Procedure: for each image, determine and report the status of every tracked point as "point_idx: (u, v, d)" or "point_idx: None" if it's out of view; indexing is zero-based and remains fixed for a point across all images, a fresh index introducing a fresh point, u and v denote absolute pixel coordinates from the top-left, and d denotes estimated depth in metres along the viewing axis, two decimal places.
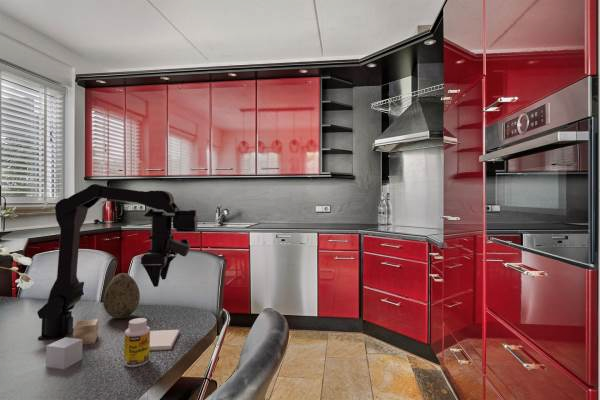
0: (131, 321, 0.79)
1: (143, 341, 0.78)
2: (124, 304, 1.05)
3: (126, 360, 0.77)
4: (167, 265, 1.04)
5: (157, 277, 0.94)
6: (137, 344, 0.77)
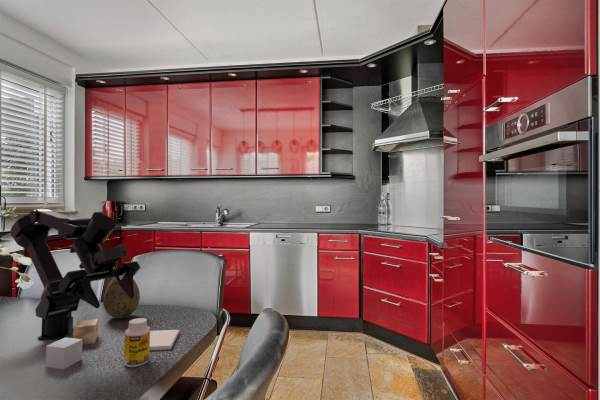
0: (131, 321, 0.79)
1: (143, 341, 0.78)
2: (124, 304, 1.05)
3: (126, 360, 0.77)
4: (128, 282, 0.88)
5: (90, 297, 0.79)
6: (138, 344, 0.77)
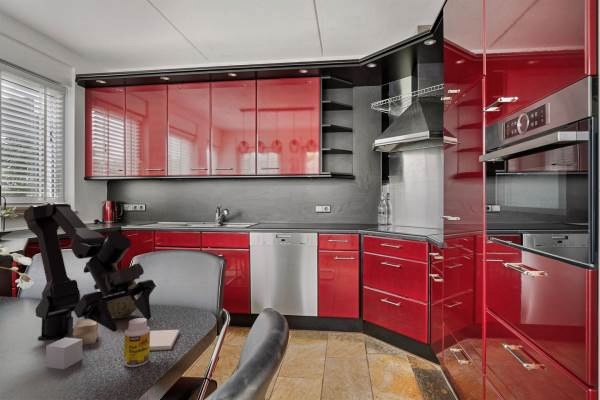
0: (131, 321, 0.79)
1: (143, 341, 0.78)
2: (124, 304, 1.05)
3: (126, 360, 0.77)
4: (144, 302, 0.85)
5: (107, 320, 0.76)
6: (137, 344, 0.77)
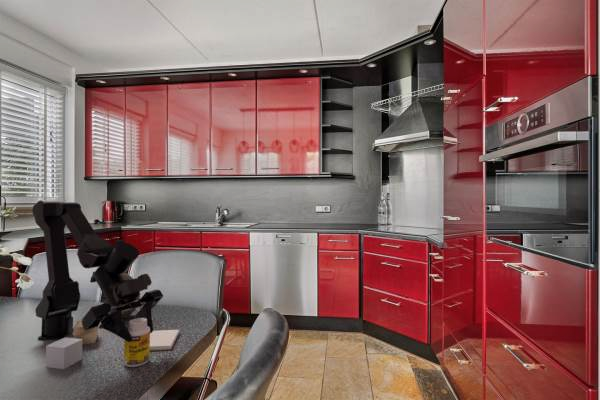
0: (131, 321, 0.79)
1: (143, 341, 0.78)
2: None
3: (126, 360, 0.77)
4: (146, 315, 0.83)
5: (122, 330, 0.76)
6: (137, 344, 0.77)
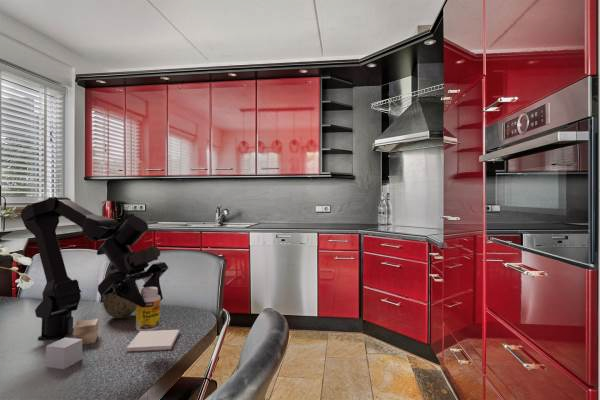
0: (143, 289, 0.83)
1: (156, 307, 0.83)
2: (124, 304, 1.05)
3: (139, 325, 0.82)
4: (155, 284, 0.88)
5: (136, 296, 0.81)
6: (151, 310, 0.82)
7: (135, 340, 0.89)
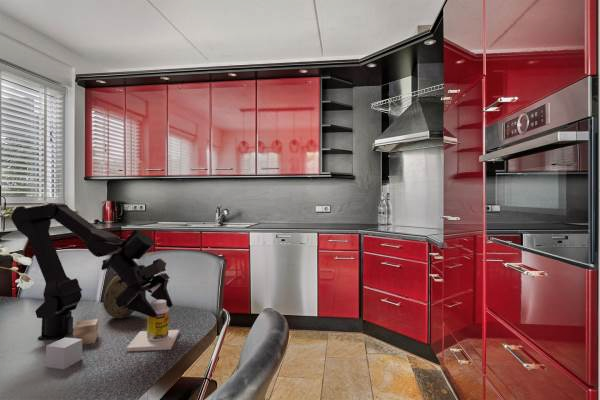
0: (153, 302, 0.90)
1: (166, 318, 0.91)
2: None
3: (152, 335, 0.89)
4: (164, 293, 0.96)
5: (147, 308, 0.86)
6: (163, 321, 0.90)
7: (135, 340, 0.89)
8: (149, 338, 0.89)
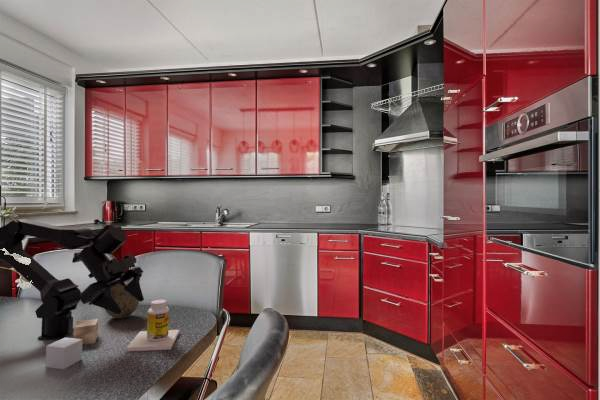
0: (153, 302, 0.90)
1: (166, 318, 0.91)
2: (124, 304, 1.05)
3: (152, 335, 0.89)
4: (136, 287, 0.97)
5: (112, 305, 0.87)
6: (162, 321, 0.90)
7: (135, 340, 0.89)
8: (149, 338, 0.89)
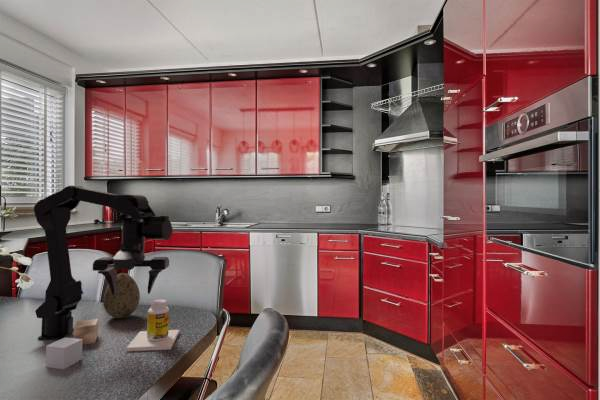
0: (153, 302, 0.90)
1: (167, 318, 0.91)
2: (124, 304, 1.05)
3: (152, 335, 0.89)
4: None
5: None
6: (163, 321, 0.90)
7: (135, 340, 0.89)
8: (149, 338, 0.89)
